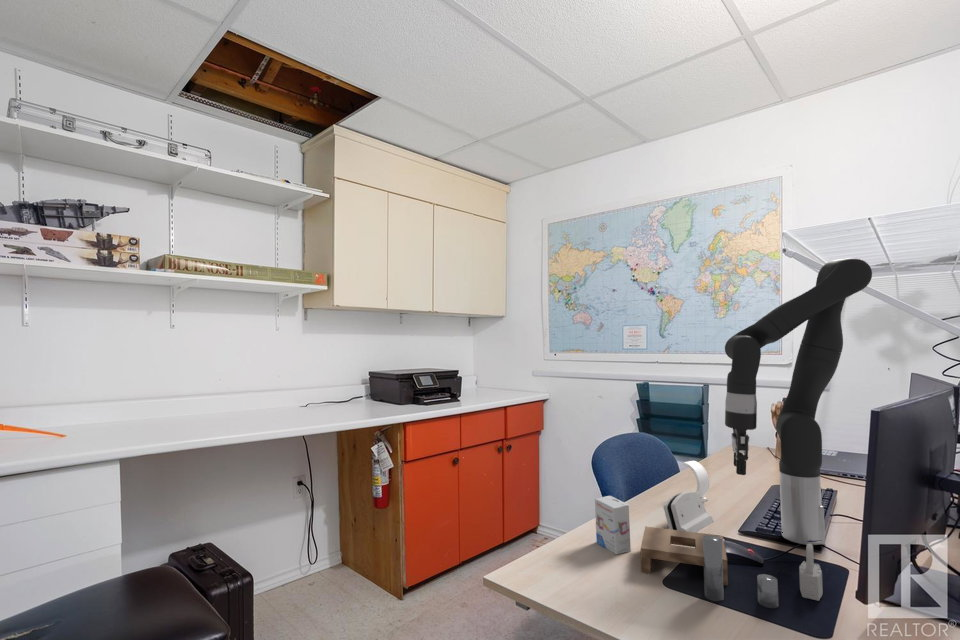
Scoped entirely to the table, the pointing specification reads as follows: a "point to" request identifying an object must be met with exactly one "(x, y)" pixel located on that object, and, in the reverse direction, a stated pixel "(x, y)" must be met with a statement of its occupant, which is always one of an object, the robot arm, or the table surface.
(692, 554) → the wooden stand with hole
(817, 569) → the padlock
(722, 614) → the table surface
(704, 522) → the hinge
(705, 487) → the headphone stand
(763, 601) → the short pin
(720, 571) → the long pin
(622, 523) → the ink box
